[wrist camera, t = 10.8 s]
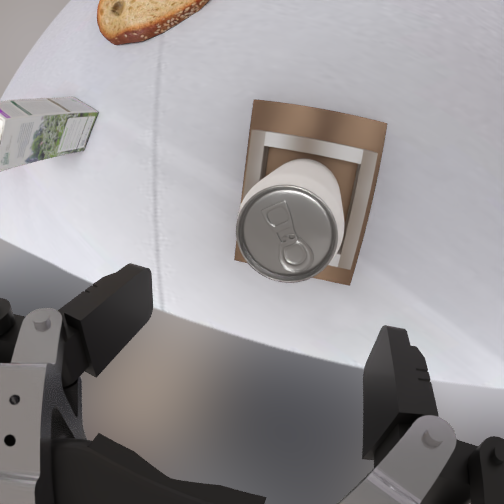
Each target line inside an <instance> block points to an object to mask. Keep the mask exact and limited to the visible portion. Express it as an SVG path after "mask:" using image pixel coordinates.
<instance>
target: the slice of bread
mask: <svg viewBox="0 0 504 504" xmlns="http://www.w3.org/2000/svg"><path fill="white" fill-rule="evenodd" d="M208 1H209V0H100V1H99V5H98V9H97V23H98V26H99V29H100V32H101V33H102V35H103V36H104V37H105V38H106V39H107V40H108V41H110V42H111V43H113V44H114V45H120V44H125V43H131V42H133V43H134V42H140V41H144V40H147V39H149V38H152V37H154V36H157V35H159V34H161V33H164V32H165V31H167V30H168V29H170V28H172V27H174V26H176V25H177V24H179V23H180V22H182V21H183V20H185V19H187V18H188V17H190V16H191V15H193V14H194V13H196V12H198V11H199V10H200V9H201V8H202V7H203V6H204V5H205V4H206V3H207V2H208Z"/></svg>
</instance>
